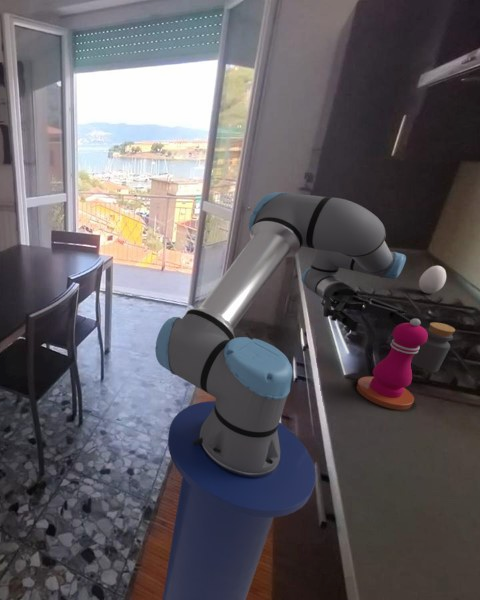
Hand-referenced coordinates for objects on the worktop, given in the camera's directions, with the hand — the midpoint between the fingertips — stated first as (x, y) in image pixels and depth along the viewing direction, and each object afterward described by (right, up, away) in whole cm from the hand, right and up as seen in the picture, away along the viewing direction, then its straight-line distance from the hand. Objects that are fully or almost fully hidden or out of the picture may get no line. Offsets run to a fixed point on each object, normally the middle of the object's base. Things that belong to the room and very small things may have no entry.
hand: (383, 327), depth 89 cm
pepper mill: (0, -16, -1) cm, 16 cm away
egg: (+65, +10, +56) cm, 86 cm away
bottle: (+15, -14, +7) cm, 22 cm away
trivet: (0, -17, 0) cm, 17 cm away
